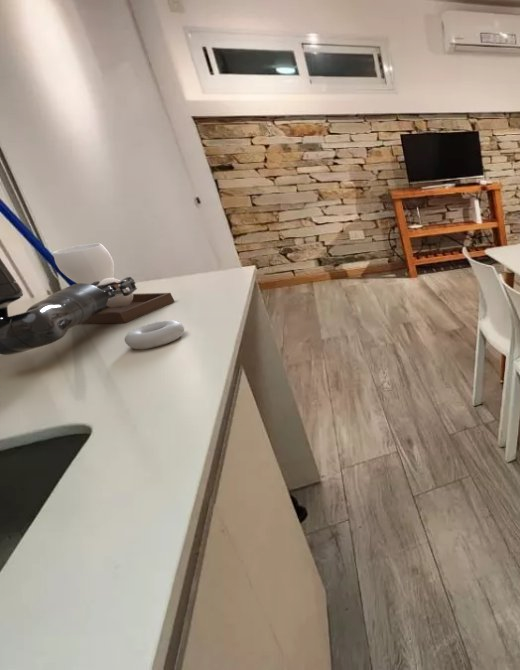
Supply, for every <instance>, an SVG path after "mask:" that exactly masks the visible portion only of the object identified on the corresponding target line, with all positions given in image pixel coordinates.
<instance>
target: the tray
mask: <svg viewBox="0 0 520 670" xmlns="http://www.w3.org/2000/svg"><path fill="white" fill-rule="evenodd" d="M175 301H176V300H175V299H174V297H173V295H172V293H171V292H149V293H146V292H145V293H144V292H143V293H133V300H132V302H131V303H130V304H129V305H128V306H126V307H124V308H111V307H109V306H106V307H105V309H104V310H102V311H101V312H99V313H97V314H96V315H94V316H92V317H91V318H89V319H87V320H86V321H84V322H81V323H79V324H78V325H80V324H81V325H83V324H84V325H85V324H87V325H88V324H126V323H128V322H131V321H133V320H135V319H138V318H141V317H142V316H145V315H147V314H149V313H152V312H154V311H157V310H159V309H161V308H163V307H166V306H168V305H171V304H173V303H176V302H175Z"/></svg>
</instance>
